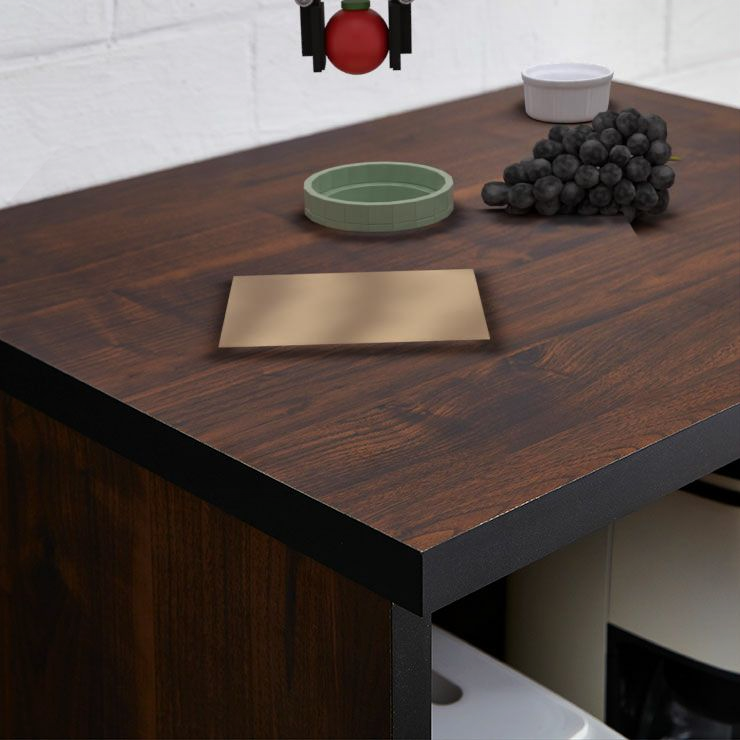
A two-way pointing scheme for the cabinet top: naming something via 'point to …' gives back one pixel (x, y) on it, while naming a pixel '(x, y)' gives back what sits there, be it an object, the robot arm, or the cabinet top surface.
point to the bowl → (378, 196)
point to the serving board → (353, 308)
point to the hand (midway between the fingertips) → (357, 63)
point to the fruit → (592, 169)
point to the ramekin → (566, 91)
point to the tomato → (356, 38)
